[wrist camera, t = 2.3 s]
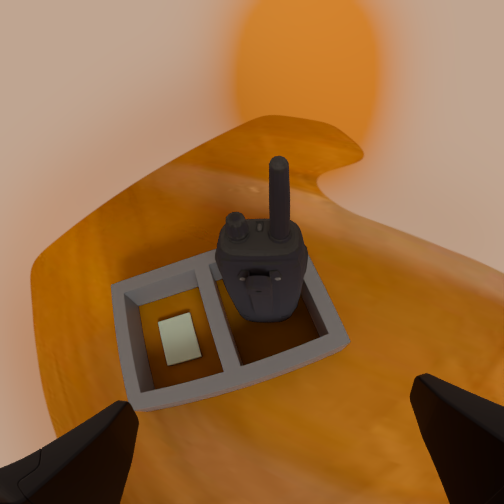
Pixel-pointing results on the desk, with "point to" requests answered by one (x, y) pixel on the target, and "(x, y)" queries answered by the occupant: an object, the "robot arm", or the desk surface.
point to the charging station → (185, 340)
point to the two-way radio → (264, 255)
